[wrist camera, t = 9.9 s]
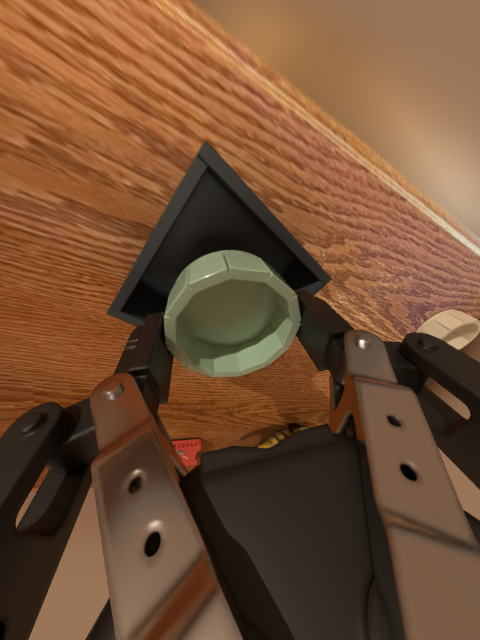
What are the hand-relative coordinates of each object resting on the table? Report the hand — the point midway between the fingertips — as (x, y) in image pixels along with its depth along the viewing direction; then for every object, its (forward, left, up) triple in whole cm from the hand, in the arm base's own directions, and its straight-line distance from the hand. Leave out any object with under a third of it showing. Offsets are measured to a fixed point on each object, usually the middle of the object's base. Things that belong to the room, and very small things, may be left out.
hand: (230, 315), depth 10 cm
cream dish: (-11, +29, -7) cm, 32 cm away
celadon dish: (0, 0, -1) cm, 1 cm away
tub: (0, 0, -7) cm, 7 cm away
